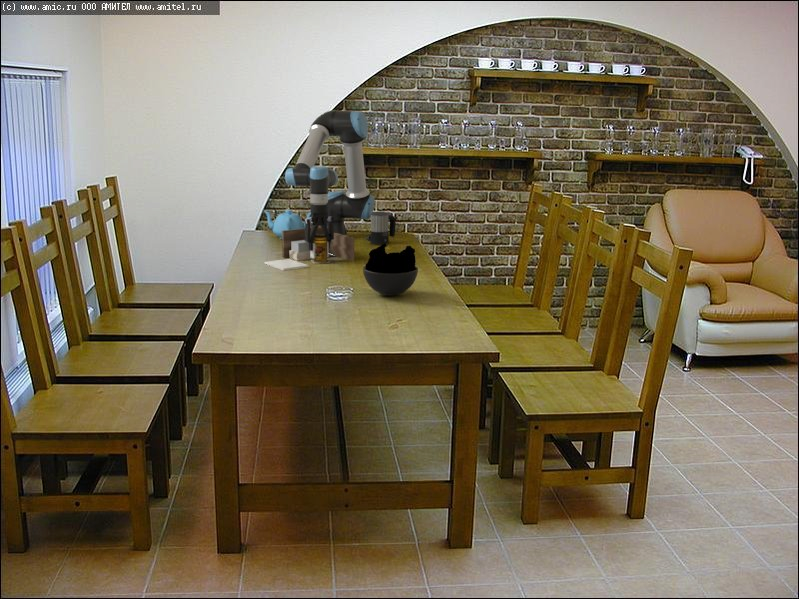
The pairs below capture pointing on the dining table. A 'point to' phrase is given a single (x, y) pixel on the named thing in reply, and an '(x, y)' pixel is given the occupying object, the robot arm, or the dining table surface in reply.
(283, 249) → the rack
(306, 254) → the block
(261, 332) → the dining table surface
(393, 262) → the bowl of black rocks
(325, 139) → the robot arm
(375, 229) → the milk frother
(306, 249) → the offcut top
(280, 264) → the pad
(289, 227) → the teapot
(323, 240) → the condiment
